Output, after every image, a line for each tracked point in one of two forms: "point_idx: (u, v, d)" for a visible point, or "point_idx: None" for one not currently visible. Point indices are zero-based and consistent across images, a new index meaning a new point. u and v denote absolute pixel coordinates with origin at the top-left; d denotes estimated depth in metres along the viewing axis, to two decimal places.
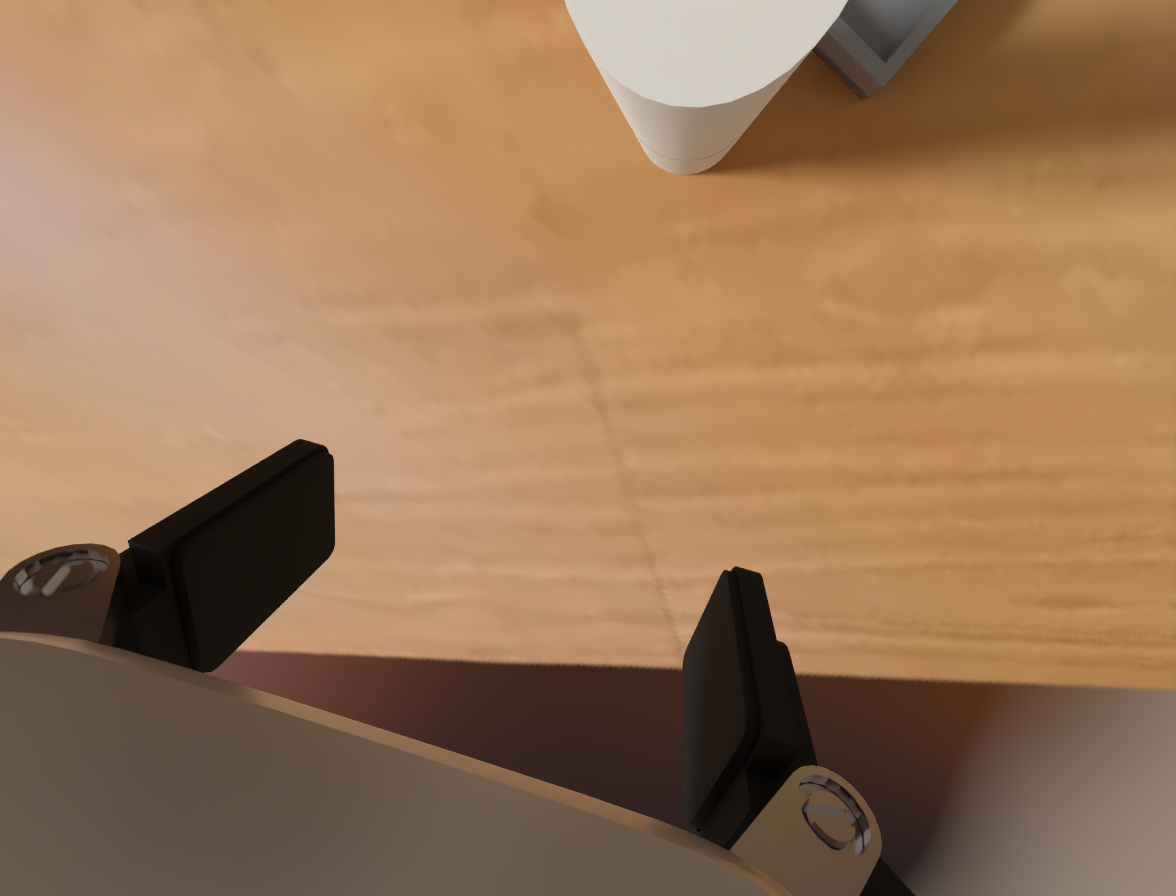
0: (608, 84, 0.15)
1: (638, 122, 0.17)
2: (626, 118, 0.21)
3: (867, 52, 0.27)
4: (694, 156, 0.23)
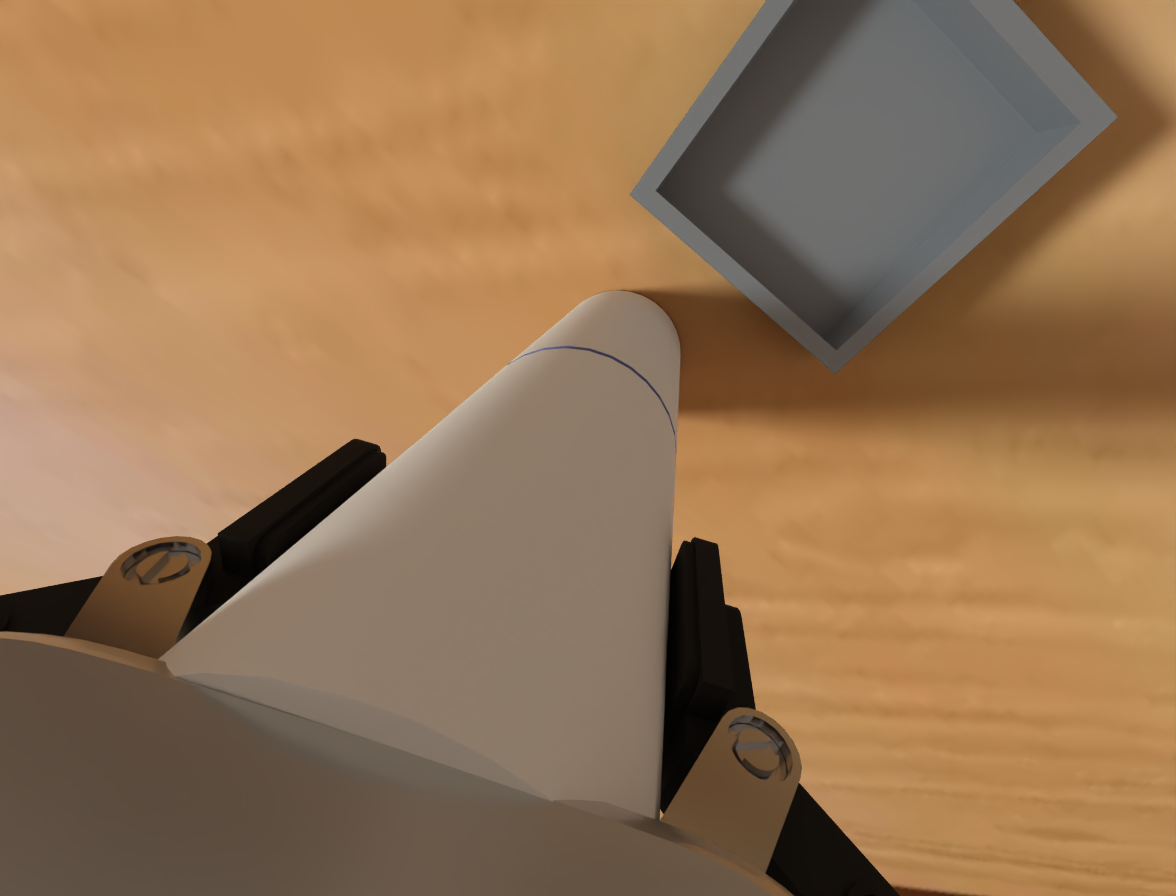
0: None
1: None
2: None
3: (814, 338, 0.23)
4: None
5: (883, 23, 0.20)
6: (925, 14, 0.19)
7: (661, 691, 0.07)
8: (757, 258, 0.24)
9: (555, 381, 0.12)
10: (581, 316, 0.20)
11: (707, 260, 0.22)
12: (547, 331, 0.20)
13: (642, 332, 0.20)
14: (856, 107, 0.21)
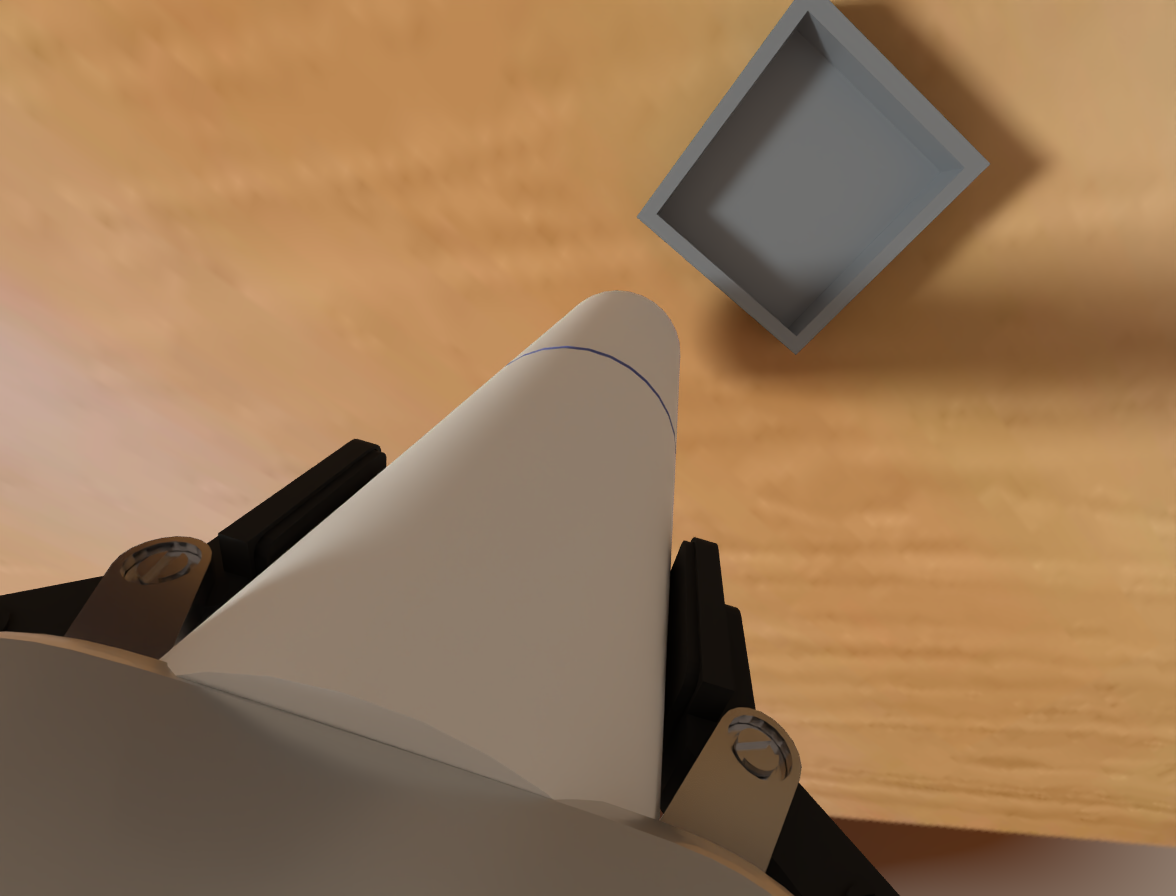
0: None
1: None
2: None
3: (779, 326, 0.29)
4: None
5: (824, 92, 0.27)
6: (854, 87, 0.26)
7: (661, 690, 0.08)
8: (735, 265, 0.31)
9: (555, 381, 0.12)
10: (581, 316, 0.20)
11: (696, 266, 0.29)
12: (547, 331, 0.20)
13: (642, 332, 0.20)
14: (807, 152, 0.28)
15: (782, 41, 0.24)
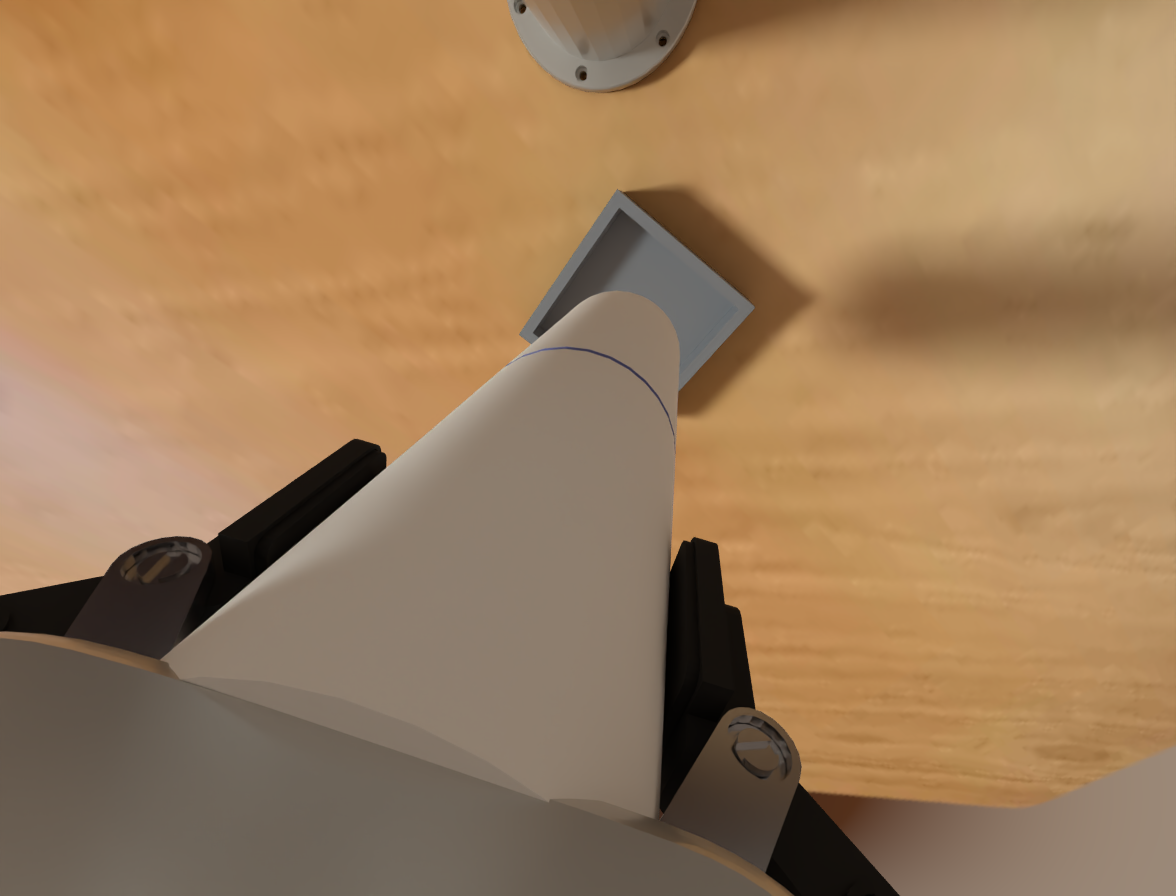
0: None
1: None
2: None
3: None
4: None
5: (647, 249, 0.37)
6: None
7: (660, 693, 0.07)
8: None
9: (554, 382, 0.12)
10: (580, 316, 0.20)
11: None
12: (546, 332, 0.20)
13: (641, 332, 0.20)
14: (641, 288, 0.38)
15: (605, 225, 0.34)
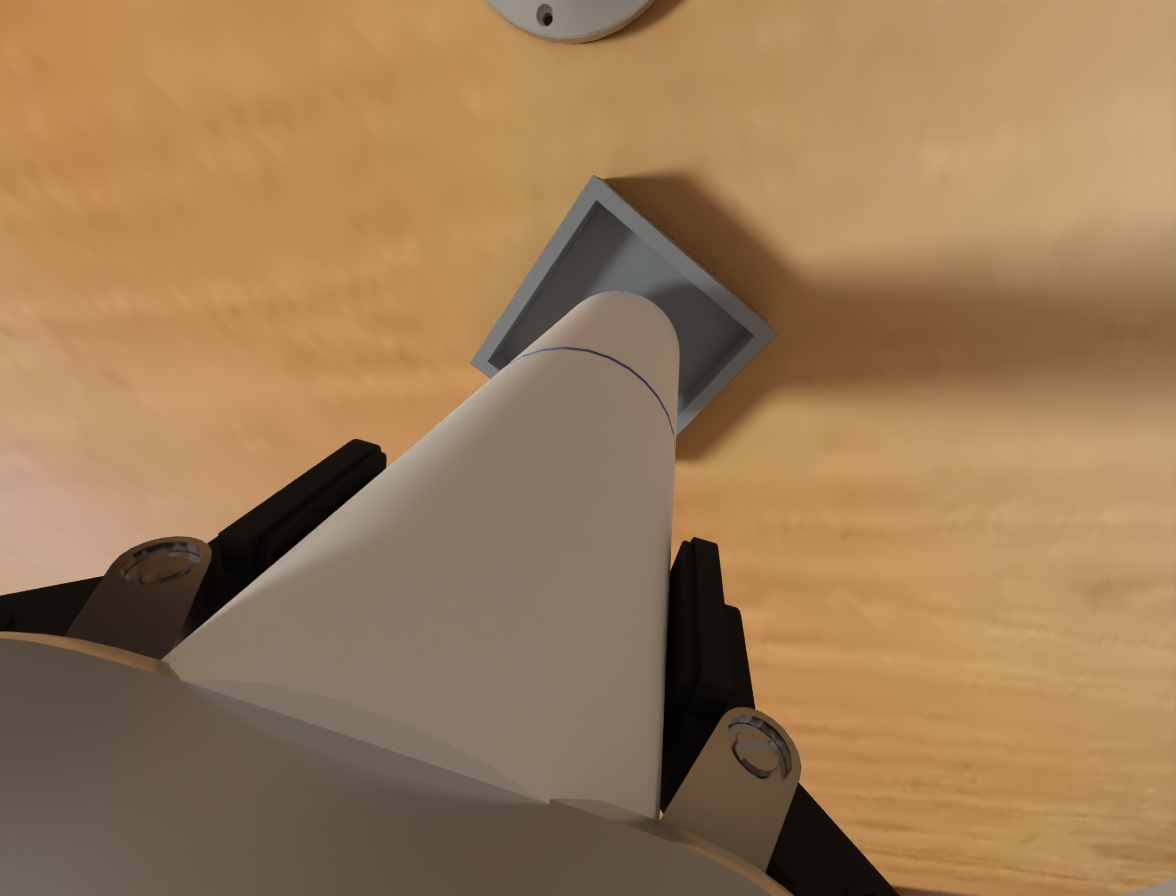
0: None
1: None
2: None
3: None
4: None
5: (635, 255, 0.28)
6: None
7: (661, 694, 0.07)
8: None
9: (554, 382, 0.12)
10: (580, 317, 0.20)
11: None
12: (546, 332, 0.20)
13: (641, 333, 0.20)
14: None
15: (577, 224, 0.26)
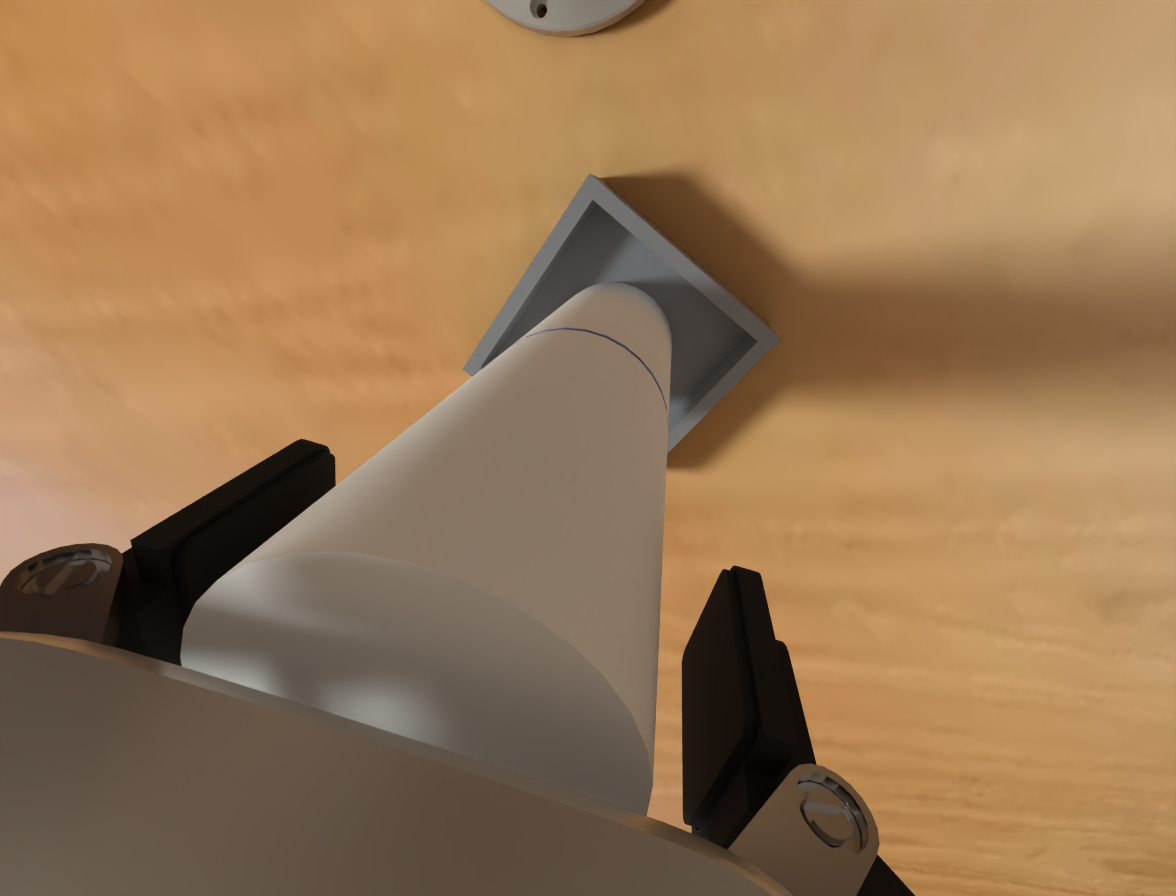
0: None
1: None
2: None
3: None
4: None
5: (633, 257, 0.27)
6: None
7: (656, 604, 0.09)
8: None
9: (557, 355, 0.14)
10: (577, 304, 0.22)
11: None
12: (546, 318, 0.21)
13: (635, 318, 0.21)
14: None
15: (573, 225, 0.25)
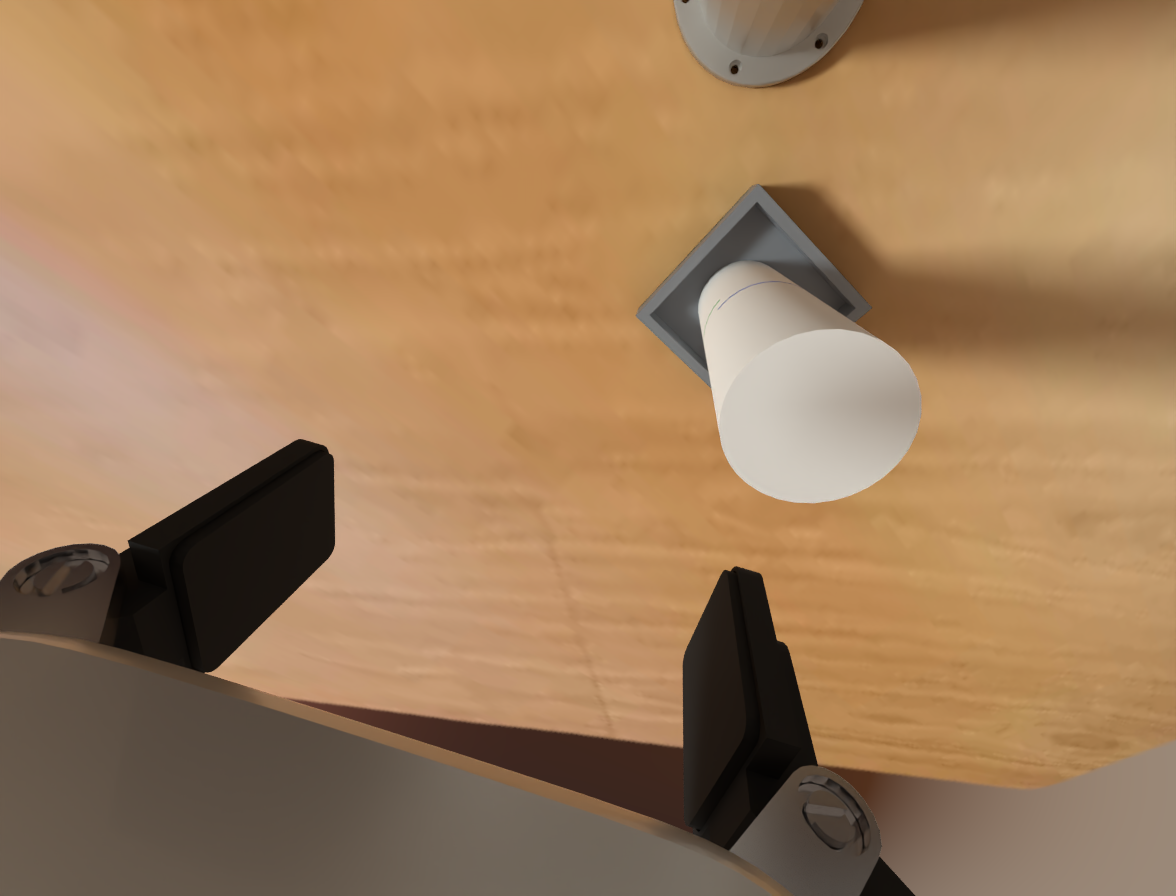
0: None
1: None
2: None
3: None
4: None
5: (770, 243, 0.38)
6: (790, 242, 0.38)
7: None
8: (704, 349, 0.43)
9: (799, 291, 0.25)
10: (754, 271, 0.33)
11: (675, 352, 0.41)
12: (734, 278, 0.33)
13: None
14: None
15: (740, 218, 0.36)
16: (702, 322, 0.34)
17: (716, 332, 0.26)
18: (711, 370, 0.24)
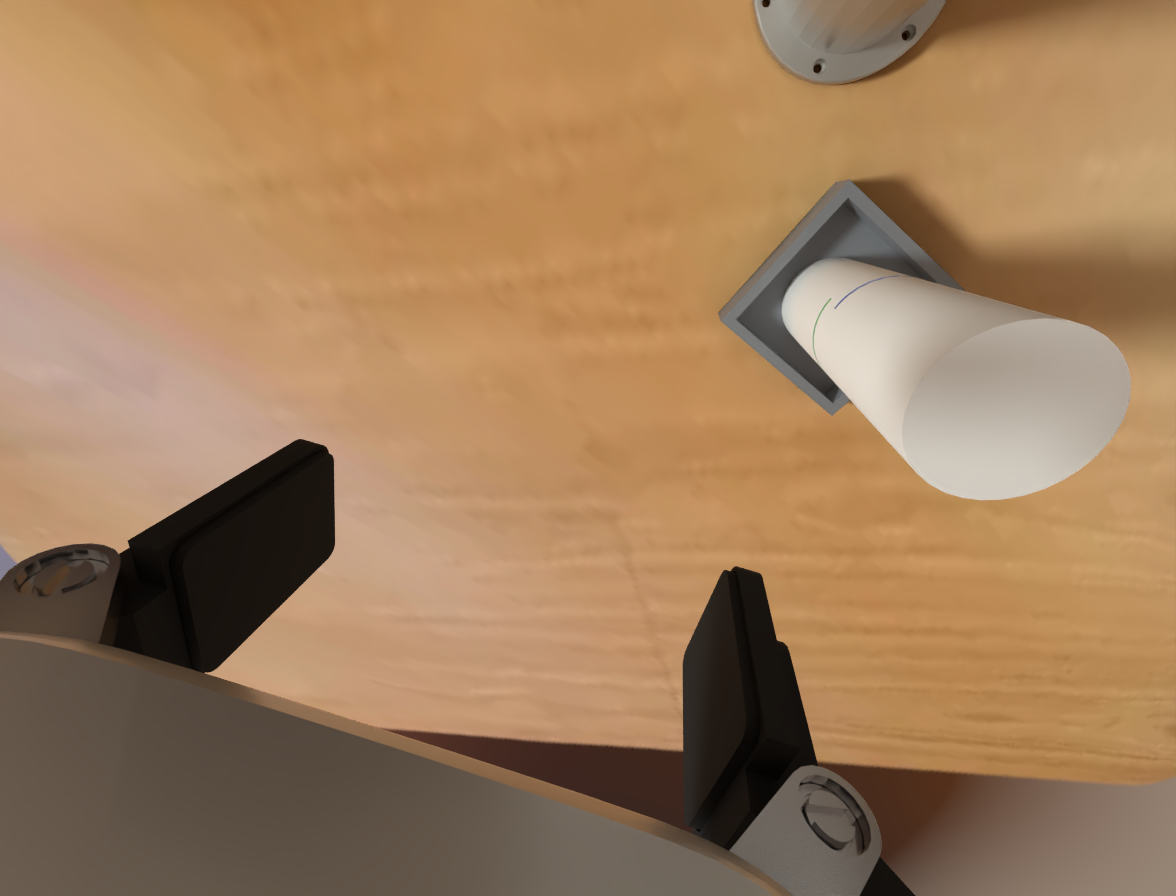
0: (881, 432, 0.23)
1: None
2: (835, 382, 0.29)
3: (820, 396, 0.41)
4: None
5: (856, 239, 0.38)
6: (877, 236, 0.38)
7: None
8: (788, 349, 0.42)
9: (936, 284, 0.24)
10: (857, 267, 0.32)
11: (762, 355, 0.40)
12: (837, 276, 0.32)
13: None
14: None
15: (830, 215, 0.35)
16: (803, 322, 0.34)
17: (847, 331, 0.26)
18: (855, 370, 0.24)
